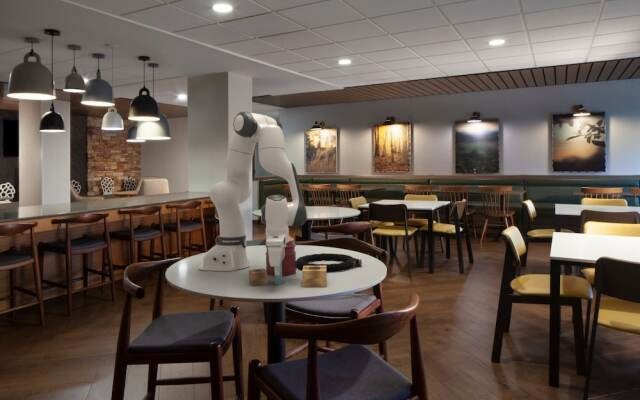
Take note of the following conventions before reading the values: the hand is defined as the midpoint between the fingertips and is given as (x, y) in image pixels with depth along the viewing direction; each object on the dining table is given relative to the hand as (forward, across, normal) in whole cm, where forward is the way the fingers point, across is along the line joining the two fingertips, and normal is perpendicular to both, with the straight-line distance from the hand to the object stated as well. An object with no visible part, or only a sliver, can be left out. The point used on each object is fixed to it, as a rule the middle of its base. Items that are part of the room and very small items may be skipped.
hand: (278, 273), depth 177 cm
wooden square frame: (+4, 0, +14) cm, 15 cm away
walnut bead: (+4, -1, -8) cm, 9 cm away
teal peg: (+4, 0, 0) cm, 4 cm away
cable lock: (+5, -31, +19) cm, 37 cm away
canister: (+4, -19, -1) cm, 20 cm away
